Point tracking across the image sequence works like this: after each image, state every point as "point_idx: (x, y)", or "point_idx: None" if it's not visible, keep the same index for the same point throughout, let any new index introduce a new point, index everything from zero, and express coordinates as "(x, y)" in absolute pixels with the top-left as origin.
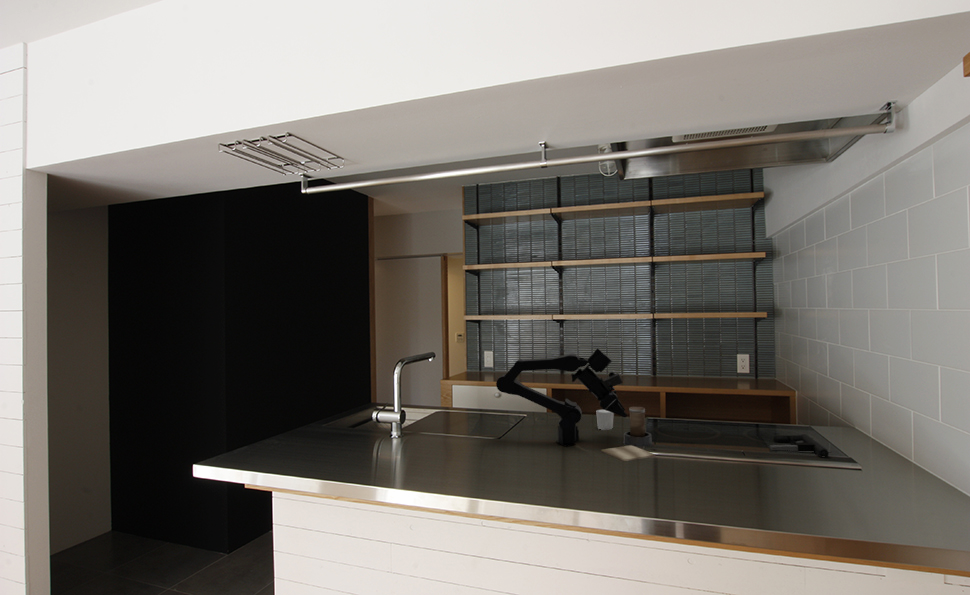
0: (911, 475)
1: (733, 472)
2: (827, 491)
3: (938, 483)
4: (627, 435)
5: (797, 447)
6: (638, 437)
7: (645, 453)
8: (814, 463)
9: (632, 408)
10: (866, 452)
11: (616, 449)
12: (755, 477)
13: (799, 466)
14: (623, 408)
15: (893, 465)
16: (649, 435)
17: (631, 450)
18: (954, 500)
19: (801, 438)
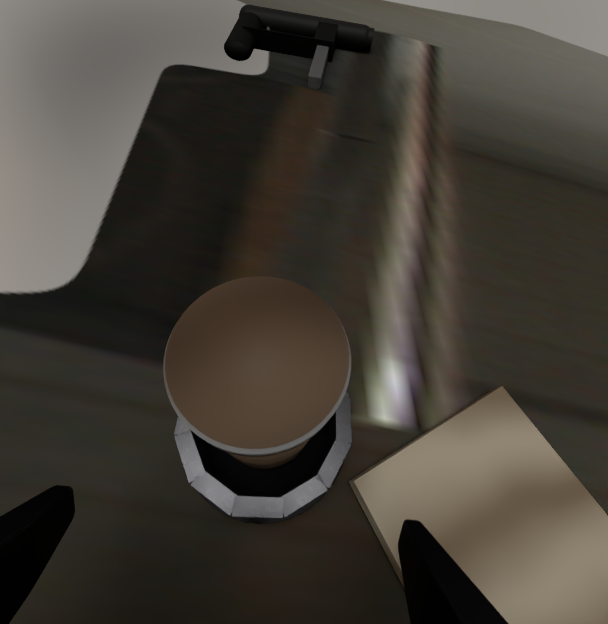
0: (446, 21)
1: (541, 209)
2: (590, 121)
3: (476, 19)
4: (306, 498)
5: (328, 50)
6: (350, 426)
7: (500, 430)
8: (411, 73)
9: (288, 412)
10: (323, 5)
11: None
12: (561, 183)
13: (441, 96)
14: (47, 514)
15: (397, 14)
16: None
17: (467, 501)
18: (548, 38)
19: (261, 21)
